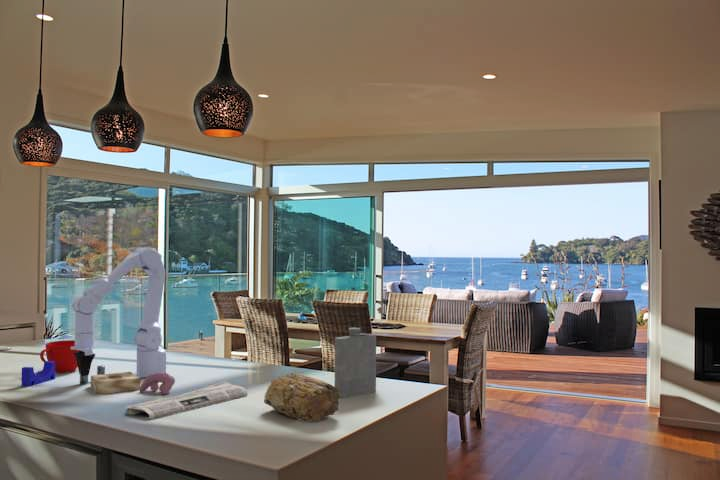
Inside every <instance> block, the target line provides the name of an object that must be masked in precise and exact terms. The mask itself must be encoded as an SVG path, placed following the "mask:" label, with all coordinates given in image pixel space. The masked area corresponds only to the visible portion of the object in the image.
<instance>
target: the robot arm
mask: <svg viewBox="0 0 720 480" xmlns="http://www.w3.org/2000/svg"><path fill="white" fill-rule="evenodd" d="M163 263H164V262H163V261H162V255H161V253H159V251H158V250H157V249H156V248H155V247H154V248H153V247H147V248H145V247H137V248H136V249H134V250H133V251H132V252H130V253H128V254H127V255H126V257H125V258H124V259H123V260H122V261H121V262H120V263H118V265H116V267H115V268H114V269H113V271H111V272H110V273H109V274H108V275H107V276H106V277H105V278H104V277H100V278H99V279H96V278H95V280H93V284H92V285H90V287H89V288H88V289H87V290H84V291H82V294H81V295H79V296H77V297H75V299H74V300H73V303H72V304H71V305H72V306H71V307H72V309H73V310H74V312H75V313H74V314H75V316H74V340H75V346H74V347H71V350H79V352H75V353H73V354H74V356H75V358H76V361H77V365H78V367H77V370H78V374H79V375H80V373H81V376H87V375H88V376H89V375H90V370H91V367H92V364H93V363H92V362H93V361H94V359H95V357H96V353H93V352H94V351H93V350H95V311H96V310H97V309H98V307H99V306H98V304H100V303H101V302H102V301H103V300H104V299H105V298H107V297H108V295H110V294H111V293H112V292H113V291H114V285H115V284H116V283H117V282H118V281H119V280H121V279H122V278H124V276H126V275H127V274H128V273H129V272H130V271H131V270H133V269H142V270H143V271H144V272H145V273H146V274H147V276H148V281H147V286H146V293H145V299H144V300H145V301H144V307H143V313H142V320H141V322H140V323H139V324H138V327H137V328H138V329H137V331H136V332H135V334H134V336H133V340H134V341H133V342H134V344H135V345H136V372H132V373H133V374H134V375H136V376H138V377H139V378H140V379H141V378H146V377H147V376H148V375H149V374H150V373H152V374H153V373H157V372H162V373H167V354H166V350H165V348H160V346H161V345H162V342H163V337H162V334H161V330H162V328H161V326H160V324H159V319H160V312H161V305H162V297H163V291H164V285H165V278H166V269H165V267H164V264H163Z"/></svg>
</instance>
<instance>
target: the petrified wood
mask: <svg viewBox="0 0 720 480" xmlns="http://www.w3.org/2000/svg"><path fill="white" fill-rule="evenodd" d="M338 398H339V392H338V390H337V388H336V387H335V385H332V384H331V383H328V382H326V381H323V380H320V379H318V378H314V377H311V376H307V375H304V374H300V373H297V372H296V373H292V372H291V373H290V374H287V375H286V376H283V375H282V376H280V375H279V376H278V377H277V378H275V379H273V380H271V381H270V384H269V385H268V387H267V389H266V392H265V393H264V398H263V399H264V400H263V402H264V404H265V405H268V406H269V407H271V408H272V409H274V410H276V411H277V412H278V413H279V414H280V413H281V414H282V415H285V416H288V417H291V416H292V417H291V418H294V417H295V419H297V418H298V419H297V420H300V421H303V420H304V421H309V420H311V421H310V422H319V421H320V420H322V421H323V420H324V419H325V418H326V417H330V416H333V415H334V414H335V413H337V412H338V411H339V405H340V402H339V399H338Z"/></svg>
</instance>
